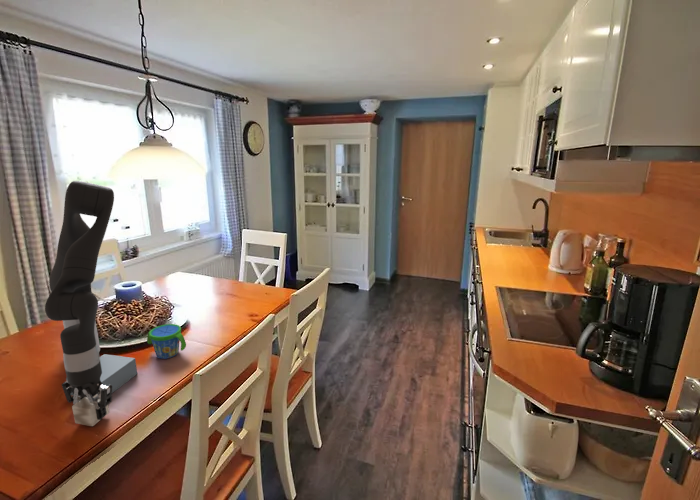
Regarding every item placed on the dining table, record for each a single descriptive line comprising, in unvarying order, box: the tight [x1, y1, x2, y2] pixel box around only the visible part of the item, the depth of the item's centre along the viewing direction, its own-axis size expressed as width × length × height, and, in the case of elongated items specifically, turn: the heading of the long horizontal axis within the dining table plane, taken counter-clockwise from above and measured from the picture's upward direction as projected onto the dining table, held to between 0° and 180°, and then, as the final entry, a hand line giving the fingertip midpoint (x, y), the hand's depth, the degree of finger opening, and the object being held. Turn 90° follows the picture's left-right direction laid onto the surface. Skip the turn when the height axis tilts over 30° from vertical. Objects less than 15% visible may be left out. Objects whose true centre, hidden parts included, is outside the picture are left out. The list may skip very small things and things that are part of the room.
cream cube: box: [71, 394, 110, 427], centre depth 97 cm, size 6×6×6 cm
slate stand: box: [65, 353, 138, 397], centre depth 113 cm, size 12×14×6 cm
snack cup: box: [146, 323, 187, 360], centre depth 130 cm, size 16×10×10 cm
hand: (92, 415), depth 97 cm, fingers closed on cream cube, 5 cm apart
